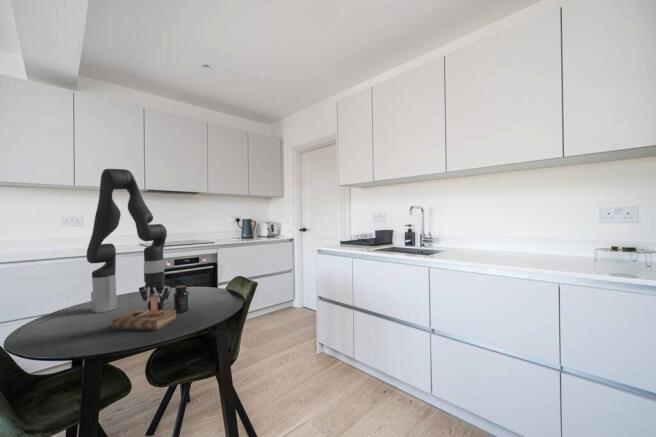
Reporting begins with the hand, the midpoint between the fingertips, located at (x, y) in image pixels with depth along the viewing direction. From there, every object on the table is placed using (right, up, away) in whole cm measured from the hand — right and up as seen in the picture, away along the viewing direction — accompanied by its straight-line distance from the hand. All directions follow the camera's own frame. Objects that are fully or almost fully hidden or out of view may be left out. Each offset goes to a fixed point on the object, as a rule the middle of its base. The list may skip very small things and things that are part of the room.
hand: (155, 309), depth 120 cm
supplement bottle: (+3, -6, +16) cm, 17 cm away
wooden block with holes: (-5, -6, +1) cm, 8 cm away
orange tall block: (0, -3, 0) cm, 3 cm away
